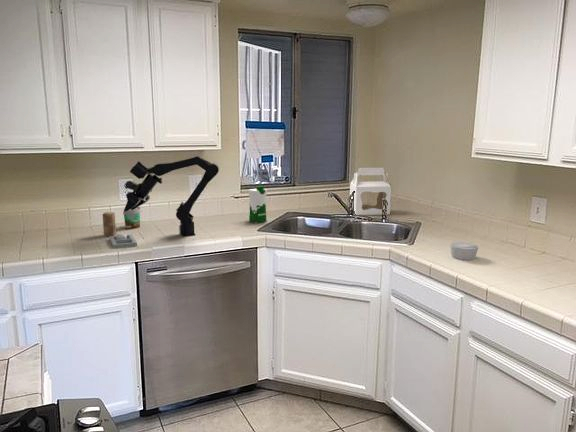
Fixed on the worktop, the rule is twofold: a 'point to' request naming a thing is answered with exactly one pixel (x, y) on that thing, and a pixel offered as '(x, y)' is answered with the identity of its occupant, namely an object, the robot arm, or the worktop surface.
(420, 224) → the worktop surface
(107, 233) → the walnut block
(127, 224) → the food container
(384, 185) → the gable box
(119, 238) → the grey divided frame
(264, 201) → the milk carton
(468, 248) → the ramekin
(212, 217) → the worktop surface
